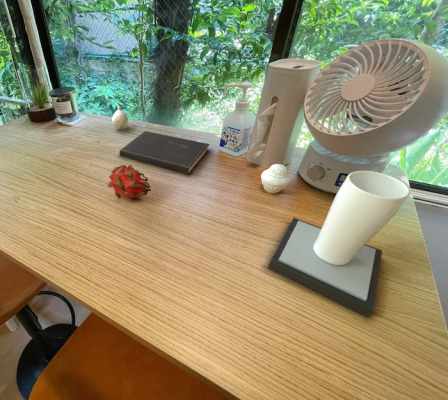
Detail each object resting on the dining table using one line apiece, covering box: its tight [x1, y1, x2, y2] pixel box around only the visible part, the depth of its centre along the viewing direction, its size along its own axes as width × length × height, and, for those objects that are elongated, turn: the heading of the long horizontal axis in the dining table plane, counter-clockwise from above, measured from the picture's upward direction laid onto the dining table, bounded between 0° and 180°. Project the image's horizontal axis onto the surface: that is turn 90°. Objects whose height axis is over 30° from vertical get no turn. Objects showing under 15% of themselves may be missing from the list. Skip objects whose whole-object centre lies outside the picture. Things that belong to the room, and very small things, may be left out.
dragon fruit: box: [106, 164, 152, 202], centre depth 63 cm, size 8×8×12 cm
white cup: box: [313, 170, 411, 265], centre depth 39 cm, size 7×7×15 cm
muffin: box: [260, 163, 291, 194], centre depth 60 cm, size 6×6×7 cm
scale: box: [266, 217, 383, 318], centre depth 45 cm, size 14×14×2 cm
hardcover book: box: [119, 130, 210, 176], centre depth 79 cm, size 16×23×2 cm
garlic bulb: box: [111, 105, 129, 131], centre depth 95 cm, size 7×6×8 cm
